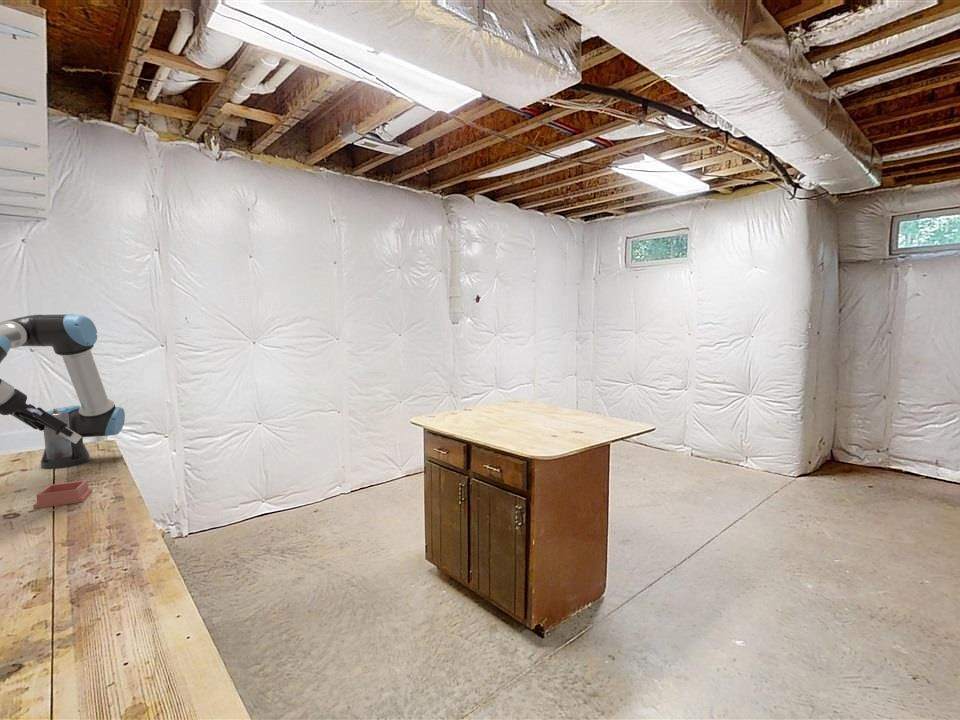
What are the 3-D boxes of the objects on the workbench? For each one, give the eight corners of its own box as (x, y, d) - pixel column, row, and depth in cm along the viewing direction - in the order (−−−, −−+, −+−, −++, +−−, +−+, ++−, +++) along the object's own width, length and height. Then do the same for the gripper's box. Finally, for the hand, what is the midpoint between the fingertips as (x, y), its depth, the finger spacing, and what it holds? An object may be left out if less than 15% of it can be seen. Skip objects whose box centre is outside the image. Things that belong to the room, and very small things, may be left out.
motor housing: (50, 455, 152) (46, 408, 150) (74, 452, 154) (70, 406, 153) (43, 460, 146) (39, 411, 145) (68, 457, 149) (64, 409, 148)
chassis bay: (46, 497, 154) (45, 485, 153) (92, 491, 159) (91, 479, 158) (33, 508, 145) (32, 495, 144) (82, 501, 150) (81, 489, 150)
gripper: (-28, 406, 137) (44, 447, 154) (12, 410, 131) (82, 451, 148) (-6, 386, 142) (61, 427, 159) (33, 388, 136) (99, 431, 153)
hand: (71, 439), depth 153 cm, fingers closed on motor housing, 6 cm apart
